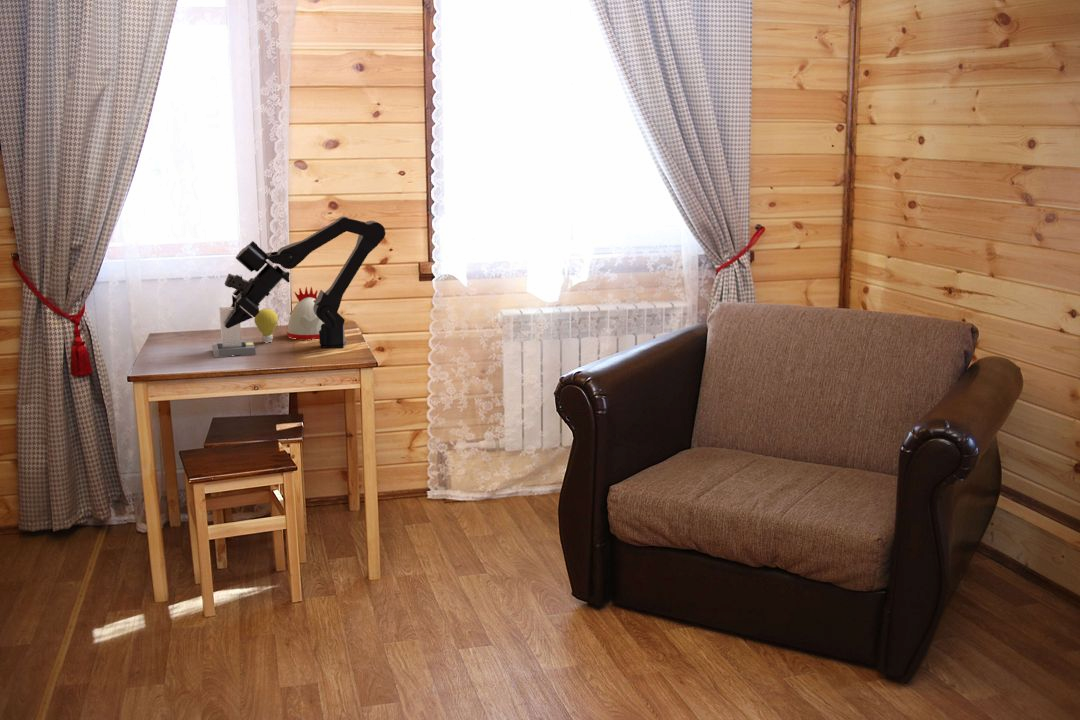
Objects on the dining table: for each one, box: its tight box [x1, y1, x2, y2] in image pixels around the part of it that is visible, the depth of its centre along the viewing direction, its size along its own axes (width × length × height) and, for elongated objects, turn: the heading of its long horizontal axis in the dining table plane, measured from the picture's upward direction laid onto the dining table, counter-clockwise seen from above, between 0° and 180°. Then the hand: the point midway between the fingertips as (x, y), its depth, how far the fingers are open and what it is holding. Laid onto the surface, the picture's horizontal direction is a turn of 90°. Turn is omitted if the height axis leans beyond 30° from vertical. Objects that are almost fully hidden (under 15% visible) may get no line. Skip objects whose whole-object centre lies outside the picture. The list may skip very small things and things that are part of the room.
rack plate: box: [211, 340, 256, 358], centre depth 297 cm, size 11×10×2 cm
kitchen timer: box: [286, 286, 324, 341], centre depth 320 cm, size 14×14×15 cm
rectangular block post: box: [218, 306, 242, 349], centre depth 296 cm, size 5×5×12 cm
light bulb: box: [254, 308, 279, 343], centre depth 310 cm, size 7×7×10 cm
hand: (225, 324), depth 295 cm, fingers open, 9 cm apart
